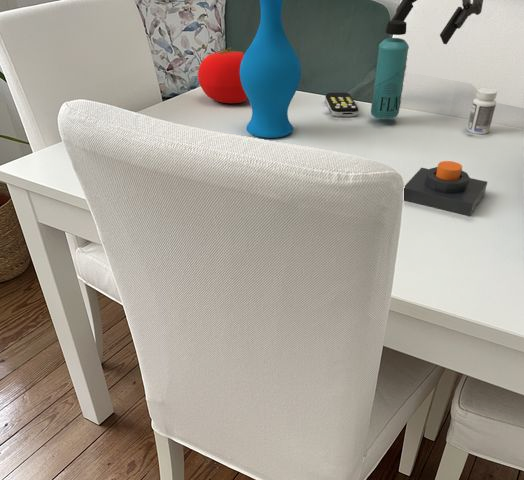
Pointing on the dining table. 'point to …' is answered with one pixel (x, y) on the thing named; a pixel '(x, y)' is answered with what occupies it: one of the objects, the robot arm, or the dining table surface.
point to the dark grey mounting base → (445, 191)
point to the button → (449, 170)
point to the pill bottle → (482, 111)
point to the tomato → (222, 76)
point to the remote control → (341, 104)
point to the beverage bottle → (390, 73)
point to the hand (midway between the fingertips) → (417, 33)
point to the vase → (270, 74)
